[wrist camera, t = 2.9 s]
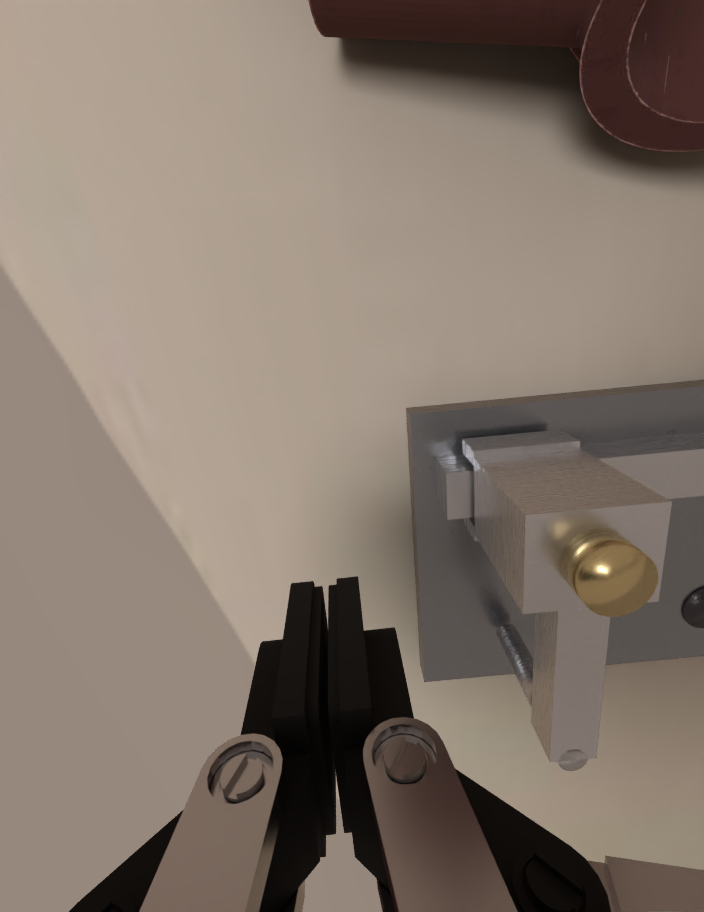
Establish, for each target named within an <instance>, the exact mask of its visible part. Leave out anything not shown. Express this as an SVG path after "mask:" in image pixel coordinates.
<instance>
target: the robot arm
mask: <svg viewBox="0 0 704 912" xmlns="http://www.w3.org/2000/svg"><path fill="white" fill-rule="evenodd" d="M335 769H336V771H335ZM336 776H337V784H338V791H339V798H340V805H341V813H342V820H343V827H344V833H349V832H352V836H353V844H354V852H355V857H356V858H357V859H358V860H359V861H360V862H361V863H362V864H363V865H364V866H365V867H366V868H367V869H368V870H369V871H370V872H371V873H372V874H373V875H374V876H375V877H376V878H377V886H378V892H379V897H380V902H381V907H382V911H383V912H704V870H698V869H691V868H685V867H678V866H671V865H664V864H658V863H651V862H644V861H638V860H631V859H624V858H617V857H611V856H605V863H600V862H593V861H587V860H586V859H585V858H584V857H583V856H582V855H580V854H579V853H578V852H577V851H576V850H574V849H573V848H572V847H571V846H569V845H568V844H566V843H565V842H564V841H562V840H561V839H559V838H558V837H556V836H555V835H553V834H552V833H550V832H549V831H547V830H546V829H544V828H543V827H541V826H540V825H538V824H537V823H535V822H534V821H532V820H531V819H529V818H528V817H526V816H525V815H523V814H522V813H520V812H519V811H517V810H516V809H514V808H513V807H511V806H510V805H508V804H507V803H505V802H504V801H502V800H501V799H499V798H498V797H497V796H495V795H494V794H492V793H491V792H489V791H488V790H486V789H485V788H483V787H482V786H480V785H479V784H477V783H476V782H474V781H473V780H471V779H470V778H468V777H467V776H465V775H464V774H462V773H461V772H459V771H458V770H456V769H455V768H454V766H453V763H452V761H451V759H450V757H449V754H448V752H447V750H446V747H445V745H444V743H443V741H442V740H441V738H440V736H439V735H438V733H437V732H436V731H435V730H434V729H433V728H431V727H430V726H429V725H428V724H426V723H424V722H422V721H420V720H418V719H414V717H413V712H412V707H411V702H410V697H409V692H408V688H407V683H406V678H405V673H404V668H403V663H402V658H401V654H400V649H399V644H398V639H397V634H396V630H395V628H385V629H376V630H366V631H364V630H363V620H362V611H361V601H360V591H359V582H358V577H348V578H339V579H337V585H329V606H328V626H327V618H326V610H325V602H324V594H323V588H322V586H319V587H315V586H314V582H313V581H310V582H301V583H292V584H291V588H290V595H289V602H288V608H287V615H286V622H285V629H284V636H283V639H282V640H273V641H263V642H262V643H261V644H260V648H259V652H258V657H257V661H256V666H255V671H254V676H253V680H252V685H251V689H250V694H249V699H248V703H247V708H246V713H245V717H244V722H243V727H242V731H241V735H240V736H238V737H235V738H232V739H230V740H228V741H227V742H225V743H224V744H222V745H221V746H219V747H218V748H217V749H216V750H215V751H214V752H213V753H212V754H211V755H210V756H209V757H208V759H207V760H206V762H205V764H204V765H203V767H202V769H201V771H200V773H199V776H198V778H197V780H196V782H195V785H194V787H193V789H192V792H191V794H190V796H189V799H188V801H187V803H186V805H185V808H184V810H183V811H181V812H180V813H179V814H178V815H177V816H176V817H175V818H174V819H172V820H171V821H170V822H169V823H168V824H167V825H166V826H165V827H163V828H162V829H161V830H160V831H159V832H158V833H157V834H155V835H154V836H153V837H152V838H151V839H150V840H149V841H148V842H146V843H145V844H144V845H143V846H142V847H141V848H139V849H138V850H137V851H136V852H135V853H134V854H133V855H131V856H130V857H129V858H128V859H127V860H126V861H125V862H124V863H122V864H121V865H120V866H119V867H118V868H117V869H116V870H114V871H113V872H112V873H111V874H110V875H109V876H108V877H106V878H105V879H104V880H103V881H102V882H101V883H100V884H98V885H97V886H96V887H95V888H94V889H93V890H92V891H91V892H90V893H88V894H87V895H86V896H85V897H84V898H82V899H81V900H80V901H79V902H78V903H77V904H76V905H75V906H74V907H73V908H72V909H71V910H70V911H69V912H302V909H303V903H304V897H305V879H306V878H307V877H308V875H309V874H310V873H311V871H312V870H313V869H314V868H315V867H316V865H317V864H318V863H319V861H320V857H325V856H326V835H332V834H336Z"/></svg>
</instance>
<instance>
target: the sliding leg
mask: <svg viewBox="0 0 704 912" xmlns="http://www.w3.org/2000/svg"><path fill="white" fill-rule="evenodd" d="M462 453H463V454H464V455H465V456H466V457H467V458H468V460H469V461H470V462H471V463H472V464H473V465H474V514H475V517H473V518H464V524H465V525H466V527H467V529H468V531H469V532H470V534H471V536H472V537H473V539H474V541H479V542H480V544H481V546H482V547H483V549H484V551H485V552H486V554H487V556H488V557H489V559H490V561H491V562H492V564H493V566H494V567H495V569H496V571H497V572H498V574H499V576H500V577H501V579H502V580H503V582H504V584H505V585H506V587H507V589H508V590H509V592H510V594H511V595H512V597H513V599H514V600H515V602H516V604H517V605H518V607H519V609H520V610H521V612H522V614H530V613H535V635H534V659H533V657H532V655H531V654H530V652H529V650H528V648H527V646H526V645H525V643H524V641H523V639H522V637H521V636H520V634H519V632H518V630H517V628H516V627H515V626H514V625H512V624H504V625H501V626H500V627H499V628H498V629H497V632H496V635H497V638H498V640H499V642H500V644H501V646H502V648H503V650H504V652H505V654H506V656H507V658H508V660H509V662H510V664H511V666H512V669H513V671H514V673H515V675H516V677H517V679H518V681H519V683H520V685H521V687H522V689H523V691H524V693H525V695H526V697H527V700H528V702H529V704H530V706H531V708H532V713H531V723H532V725H533V727H534V729H535V731H536V734H537V736H538V738H539V740H540V742H541V744H542V746H543V749H544V751H545V753H546V755H547V757H548V759H549V761H550V762H558V764H559V766H560V767H561V768H562V769H564V770H567V771H574V770H578V769H580V768H582V767H583V766H584V765H585V764H586V762H587V759H590V758H596V756H597V746H598V736H599V726H600V716H601V706H602V695H603V685H604V675H605V665H606V655H607V645H608V635H609V624H610V617H618V616H623V615H627V614H630V613H632V612H634V611H636V610H638V609H639V608H641V607H642V606H643V605H644V604H645V603H647V602H658V601H659V594H660V587H661V580H662V572H663V565H664V557H665V550H666V543H667V535H668V528H669V521H670V513H671V506H672V501H670V500H668V499H667V498H665V497H663V496H662V495H660V494H658V493H656V492H655V491H653V490H651V489H649V488H648V487H646V486H644V485H642V484H641V483H639V482H637V481H635V480H634V479H632V478H630V477H628V476H627V475H625V474H623V473H621V472H620V471H618V470H616V469H614V468H613V467H611V466H609V465H607V464H606V463H604V462H602V461H601V460H599V459H597V458H595V457H594V456H592V455H590V454H588V453H587V452H585V451H583V450H581V449H580V441H579V440H578V439H576V438H574V437H572V436H570V435H568V434H566V433H565V432H563V431H561V430H550V431H539V432H529V433H518V434H508V435H497V436H487V437H476V438H466V439H462Z"/></svg>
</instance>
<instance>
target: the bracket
mask: <svg viewBox="0 0 704 912" xmlns="http://www.w3.org/2000/svg"><path fill="white" fill-rule="evenodd" d="M308 1H309V5H310V9H311V13H312V16H313V19H314V22H315V24H316V27H317V29H318V31H319V32H320V34H321V35H322V36H324V37H339V38H362V39H385V40H408V41H431V42H454V43H477V44H500V45H523V46H546V47H569V48H570V50H571V51H572V53H573V54H574V56H575V57H576V59H577V60H578V62H579V63H580V87H581V92H582V96H583V99H584V102H585V105H586V107H587V109H588V111H589V113H590V114H591V116H592V117H593V119H594V120H595V121H596V122H597V123H598V125H599V126H600V127H602V128H603V129H604V130H605V131H606V132H608V133H609V134H610V135H612V136H614V137H615V138H617V139H619V140H621V141H623V142H625V143H628V144H631V145H633V146H637V147H641V148H645V149H650V150H657V151H669V152H687V151H700V150H704V0H308Z"/></svg>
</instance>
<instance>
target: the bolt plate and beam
mask: <svg viewBox="0 0 704 912" xmlns="http://www.w3.org/2000/svg"><path fill="white" fill-rule="evenodd" d="M406 414H407V432H408V450H409V468H410V486H411V504H412V522H413V540H414V558H415V576H416V594H417V612H418V631H419V649H420V665H421V669H422V674H423V678H424V682H429V681H440V680H451V679H461V678H472V677H483V676H493V675H504V674H515V673H514V671H513V669H512V666H511V664H510V662H509V660H508V658H507V656H506V654H505V652H504V650H503V648H502V646H501V644H500V642H499V640H498V638H497V635H496V632H497V629H498V628H499V627H500V626H501V625H504V624H512V625H514V626H515V627H516V628H517V630H518V632H519V634H520V636H521V637H522V639H523V641H524V643H525V645H526V646H527V648H528V650H529V652H530V654H531V655H532V657H533V659H534V635H535V613H530V614H522V612H521V610H520V609H519V607H518V605H517V604H516V602H515V600H514V599H513V597H512V595H511V594H510V592H509V590H508V589H507V587H506V585H505V584H504V582H503V580H502V579H501V577H500V576H499V574H498V572H497V571H496V569H495V567H494V566H493V564H492V562H491V561H490V559H489V557H488V556H487V554H486V552H485V551H484V549H483V547H482V546H481V544H480V542H479V541H474V539H473V537H472V536H471V534H470V532H469V531H468V529H467V527H466V525H465V524H464V518H473V517H475V514H474V465H473V464H472V463H471V462H470V461H469V460H468V458H467V457H466V456H465V455H464V454H463V453H462V439H466V438H476V437H487V436H497V435H508V434H518V433H529V432H539V431H550V430H561V431H563V432H565V433H566V434H568V435H570V436H572V437H574V438H576V439H578V440H579V441H580V449H581V450H583V451H585V452H587V453H588V454H590V455H592V456H594V457H595V458H597V459H599V460H601V461H602V462H604V463H606V464H607V465H609V466H611V467H613V468H614V469H616V470H618V471H620V472H621V473H623V474H625V475H627V476H628V477H630V478H632V479H634V480H635V481H637V482H639V483H641V484H642V485H644V486H646V487H648V488H649V489H651V490H653V491H655V492H656V493H658V494H660V495H662V496H663V497H665V498H667V499H668V500H670V501H672V506H671V513H670V521H669V528H668V535H667V543H666V550H665V557H664V565H663V572H662V580H661V587H660V594H659V601H658V602H647V603H645V604H644V605H643V606H642V607H641V608H639V609H638V610H636V611H634V612H632V613H630V614H627V615H623V616H618V617H610V624H609V635H608V645H607V655H606V665H611V664H621V663H632V662H643V661H653V660H664V659H675V658H685V657H696V656H704V380H698V381H687V382H677V383H666V384H656V385H645V386H635V387H624V388H614V389H603V390H593V391H582V392H572V393H561V394H551V395H540V396H530V397H519V398H509V399H498V400H488V401H477V402H467V403H456V404H446V405H435V406H425V407H414V408H406Z"/></svg>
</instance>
